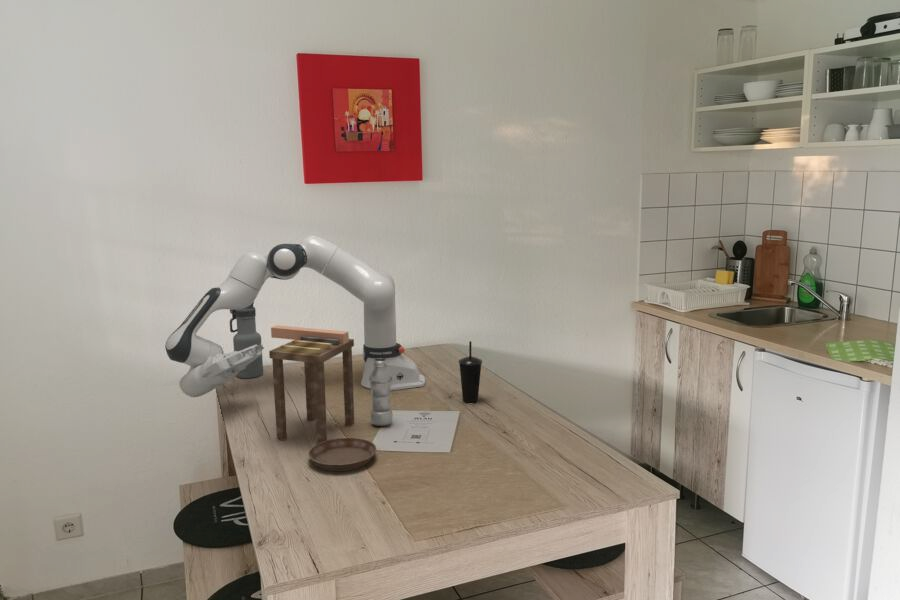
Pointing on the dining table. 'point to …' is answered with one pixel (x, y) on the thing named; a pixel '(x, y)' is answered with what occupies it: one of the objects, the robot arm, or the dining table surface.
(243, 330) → the water bottle
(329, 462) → the plant saucer
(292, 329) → the terracotta bar
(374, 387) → the plastic bottle
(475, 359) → the drinking cup
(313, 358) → the walnut stool
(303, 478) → the dining table surface
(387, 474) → the dining table surface
